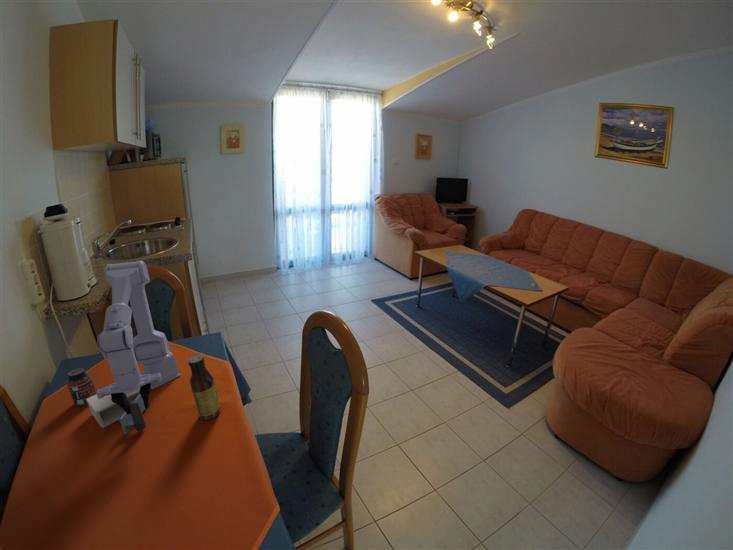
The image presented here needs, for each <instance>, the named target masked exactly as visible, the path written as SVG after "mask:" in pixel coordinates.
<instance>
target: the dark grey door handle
mask: <svg viewBox="0 0 733 550" xmlns="http://www.w3.org/2000/svg"><path fill="white" fill-rule="evenodd" d="M128 407H129V410H130V414H128V415H127V413H126V412H125V413H124V414H123V415H122V417H121V418H120V419H119V420H118V421H119V423H120V425H121V428H122V430H123V433H124V435H127V434H129V432H130V430H136V432H141V431H144V430H145V429H146V427H147V424H146V421H145V419H144V416H143V413H144V411H145V410H146V409H145V406H144V402H143V399H142V397H141V395H140V394H139V395H138V396H137V397H136V399H135V400H133V401H131V402H129V403H128Z"/></svg>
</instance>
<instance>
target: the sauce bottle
mask: <svg viewBox="0 0 733 550" xmlns="http://www.w3.org/2000/svg"><path fill="white" fill-rule="evenodd" d="M187 362H188V366H189V368H190V371H191V376H190V379H189V384H190V388H191V393H192V396H193V400H194V402H195V403H194V405H195V407H196V411H197V414H198V416H199V418H200V419H201V420H204V421H207V420H209V421H210V420H212V419H214V418H216V417H217V416H218V415H219V414H220V413H221V404H220V401H219V396H218V392H217V388H216V384H215V380H214V376H212V374H211V373H210V372H209V370H208V369H207V367H206V364H205V358H204V356H203V355H202V354H197V355H194V356H191V357H189V359H188V360H187Z"/></svg>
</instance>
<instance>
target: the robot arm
mask: <svg viewBox="0 0 733 550" xmlns="http://www.w3.org/2000/svg"><path fill="white" fill-rule="evenodd" d="M148 269H149V268H148V266H147V264H146V263H145V261H143V260H137V261H129V262H128V261H127V262H120V263H108V264H106V266H105V267H104V276H105V280H106V282H107V283H108V284H109V286H110V287H111V305H109V306H108V307H107V308H106V310H105V317H104V323H103V330H102V332H100V333H99V334H98V335H97V338H96V339H97V342H96V343H97V348H98V350H99V352H100V354H102V356H103V358H104V360H107V362H108V364H109V368H110V370H111V374H112V376H113V379H114V383H111V384H109V385H107V386H104V387H101V388H98V389H96V392H97V393H96V394H97V396H98V399H101V398H103V397H104V396H107V395H111V397H112V398H111V400H112V402H113V403H116V404H117V405H119V406H120V407H121V408H122V409H123V410H124V411H125V412H126V413H127V415H128V414H130V410H129V407H128V403H129V402H128V399H127V396H126V394H127V393H131V392H133V390H134V389H136V388H139V387H140V392H139V393H140V395H141V397H142V399H143V402H144V406H145V410H148V409H149V407H150V402H149V396H150V393H151V390H154V389H157V388H158V387H160V386H162V385H164V384H166V383H168V382H170V381H172V380H174V379H176V378H178V377H180V376H181V373H179V369H178V363H177V361H176V358H175V356H174V353H173V352H171V351H170V345H169V341H168V339H167V336H166V334H165V333H164V332H162V331H159V330H157V329H155V328H154V323H153V319H152V315H151V311H150V305H149V301H148V297H147V293H146V285H147V284H149V283H150V282H151V280H150V274H149V270H148ZM129 303H130V306H129ZM132 316H133V320H134V323H135V324H134V325H135V327H136V328H135V329H136V331H137V335H136V336H134V335H133V328H132V326H131V323H132ZM138 363H139V364H138ZM139 365H141V366H142V369H143V374H141V371H140V369H139Z"/></svg>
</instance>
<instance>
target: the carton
mask: <svg viewBox="0 0 733 550" xmlns="http://www.w3.org/2000/svg"><path fill="white" fill-rule="evenodd" d="M139 392H140V387H139V388H136V389H134V390H133V392H131V393H127V394H126V396H127V399H128V402H131V401H133V400H135V399H136V397H137V396H138V395H139V394H140V393H139ZM111 398H112V397H111V395H107V396H104V397H103V398H101V399H98V396H97V394H96V395H94V396H92V397H90V398H87V399H86V400H87V403H88V405H87V406H88V407H89V411H90V413H91V415H92V417H93V418H94V419H95V421H96V422H97V424H99V426H100V427H101V429H104V428H106V427H107V426H109V425H111V424H114V423H115V422H117V421H120V420H119V419H120V418H121V417H122V415H123V414H124V413H125V411H124V410H123V409H122V408H121V407H120V406H119V405H117V404H116V403H113V402H112V400H111Z"/></svg>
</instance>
